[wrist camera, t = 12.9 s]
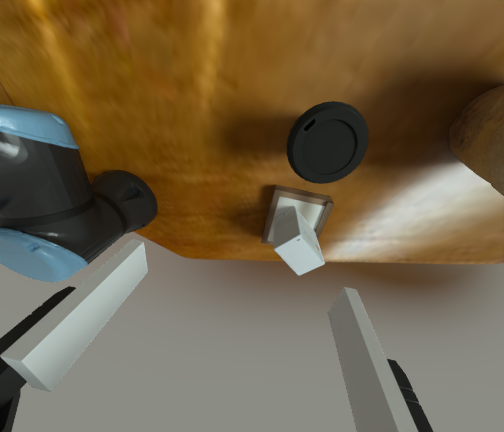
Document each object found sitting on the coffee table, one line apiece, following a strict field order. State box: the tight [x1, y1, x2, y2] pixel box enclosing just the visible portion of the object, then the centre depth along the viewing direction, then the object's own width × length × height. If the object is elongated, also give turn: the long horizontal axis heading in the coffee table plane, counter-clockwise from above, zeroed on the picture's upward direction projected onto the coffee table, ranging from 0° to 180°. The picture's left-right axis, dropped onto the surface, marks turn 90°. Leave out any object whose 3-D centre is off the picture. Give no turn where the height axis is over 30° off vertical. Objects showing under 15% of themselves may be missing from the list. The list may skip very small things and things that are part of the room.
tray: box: [261, 185, 334, 245], centre depth 43 cm, size 12×14×4 cm
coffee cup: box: [287, 101, 368, 184], centre depth 29 cm, size 10×10×15 cm
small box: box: [274, 206, 325, 275], centre depth 37 cm, size 8×6×10 cm
